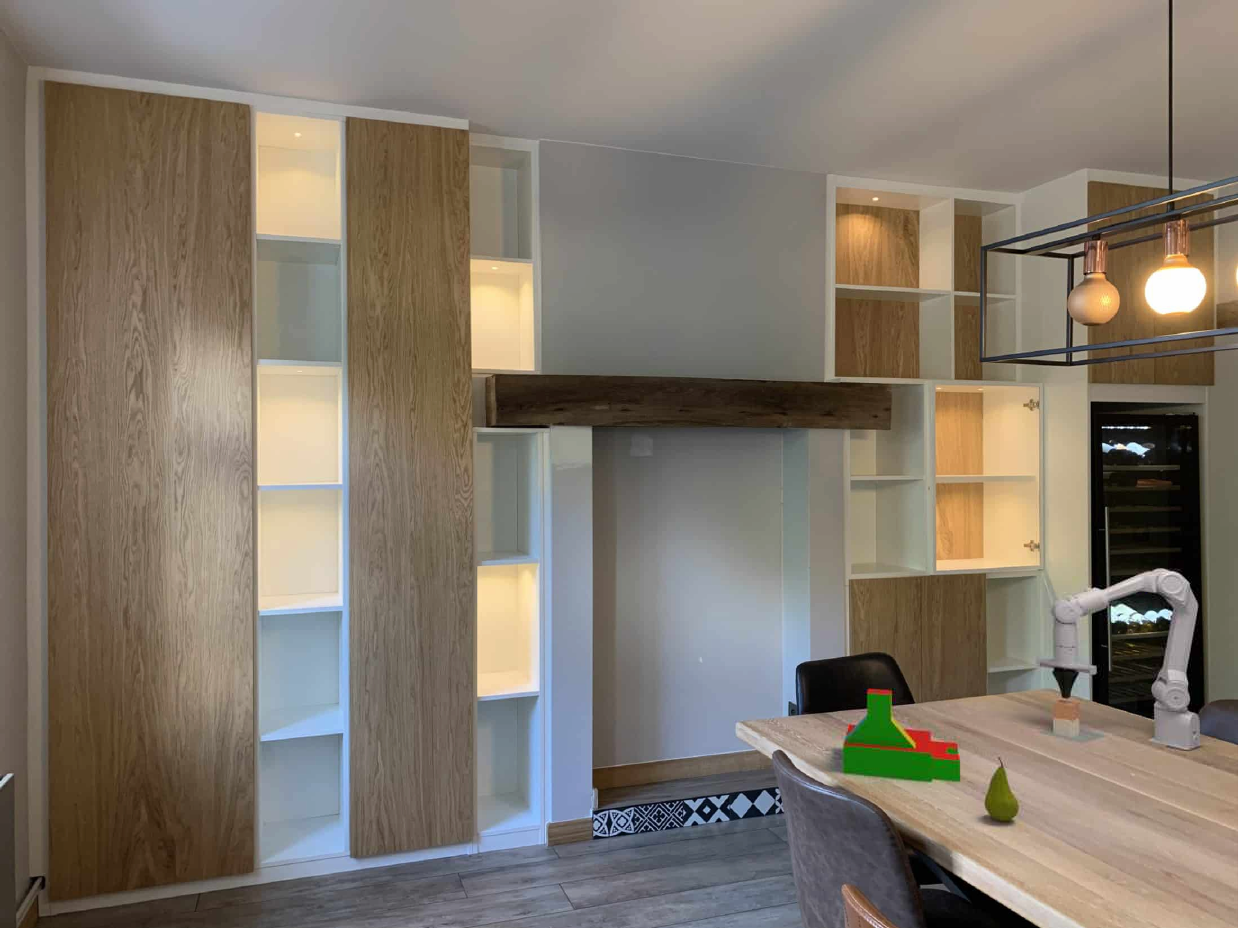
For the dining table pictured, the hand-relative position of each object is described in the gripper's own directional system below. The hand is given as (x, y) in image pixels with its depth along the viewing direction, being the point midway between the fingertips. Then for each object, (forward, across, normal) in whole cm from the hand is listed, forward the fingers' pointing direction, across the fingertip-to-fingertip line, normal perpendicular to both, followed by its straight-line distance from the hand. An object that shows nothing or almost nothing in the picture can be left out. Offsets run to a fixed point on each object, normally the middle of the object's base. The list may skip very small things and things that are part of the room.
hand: (1065, 697), depth 232 cm
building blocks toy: (+10, +16, +56) cm, 59 cm away
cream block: (+9, 0, 0) cm, 9 cm away
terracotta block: (+5, 0, 0) cm, 5 cm away
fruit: (+10, -14, +72) cm, 74 cm away
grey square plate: (+10, -1, -1) cm, 10 cm away
